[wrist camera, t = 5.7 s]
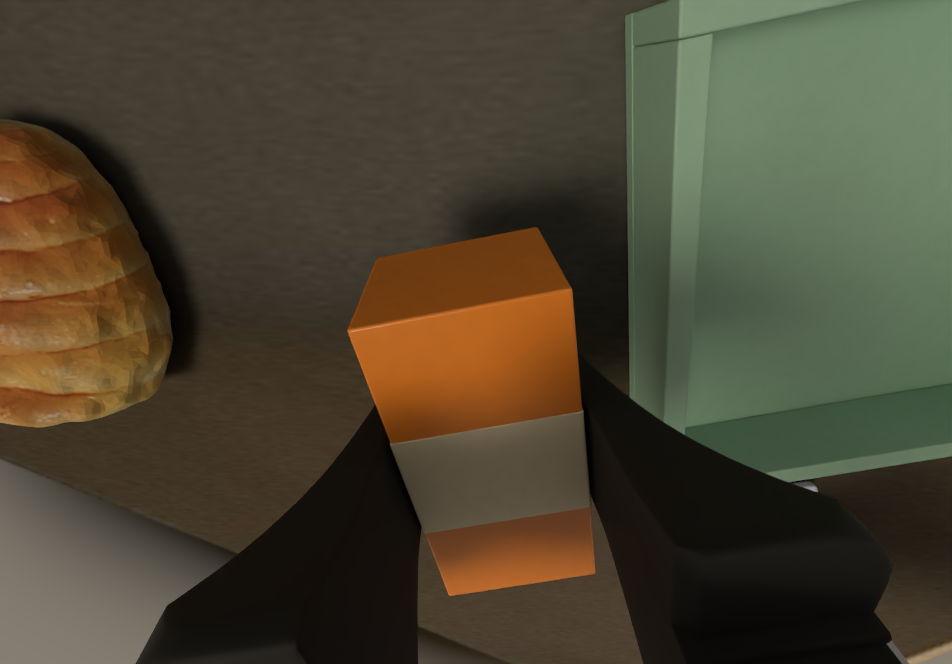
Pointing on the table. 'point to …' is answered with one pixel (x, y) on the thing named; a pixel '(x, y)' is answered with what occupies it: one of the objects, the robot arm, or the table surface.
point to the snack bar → (483, 406)
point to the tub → (793, 229)
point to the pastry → (71, 288)
